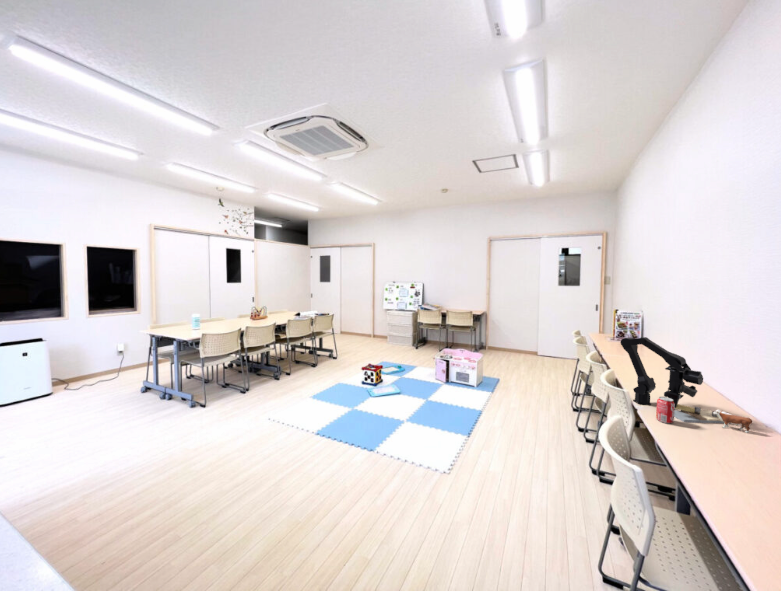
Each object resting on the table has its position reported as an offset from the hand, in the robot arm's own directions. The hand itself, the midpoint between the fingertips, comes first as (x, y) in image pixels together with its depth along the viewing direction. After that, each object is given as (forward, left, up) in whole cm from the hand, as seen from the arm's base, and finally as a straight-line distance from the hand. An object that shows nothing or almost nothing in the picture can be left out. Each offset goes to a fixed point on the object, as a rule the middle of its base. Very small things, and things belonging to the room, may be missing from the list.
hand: (674, 407), depth 178 cm
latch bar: (+4, -2, -1) cm, 4 cm away
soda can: (-13, -11, -3) cm, 18 cm away
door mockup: (+8, -5, -3) cm, 10 cm away
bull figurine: (+14, -17, -3) cm, 22 cm away
